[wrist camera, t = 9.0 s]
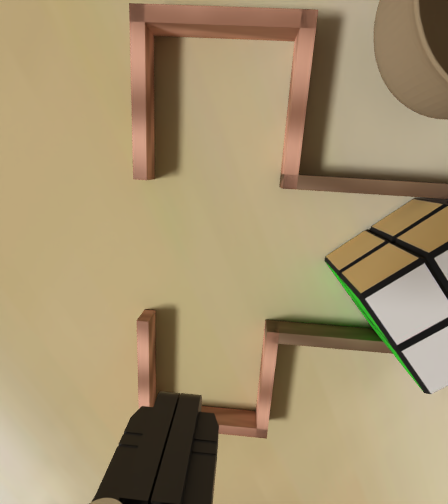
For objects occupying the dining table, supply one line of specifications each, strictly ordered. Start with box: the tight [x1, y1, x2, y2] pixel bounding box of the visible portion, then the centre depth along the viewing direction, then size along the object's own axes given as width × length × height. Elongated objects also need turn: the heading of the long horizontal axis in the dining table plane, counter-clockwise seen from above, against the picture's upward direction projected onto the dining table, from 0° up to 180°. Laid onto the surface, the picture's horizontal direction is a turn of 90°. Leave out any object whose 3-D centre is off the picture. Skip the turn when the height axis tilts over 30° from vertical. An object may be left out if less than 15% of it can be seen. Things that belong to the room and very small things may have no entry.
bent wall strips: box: [129, 3, 448, 438], centre depth 29 cm, size 40×36×2 cm
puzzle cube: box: [325, 199, 448, 394], centre depth 25 cm, size 10×10×10 cm
